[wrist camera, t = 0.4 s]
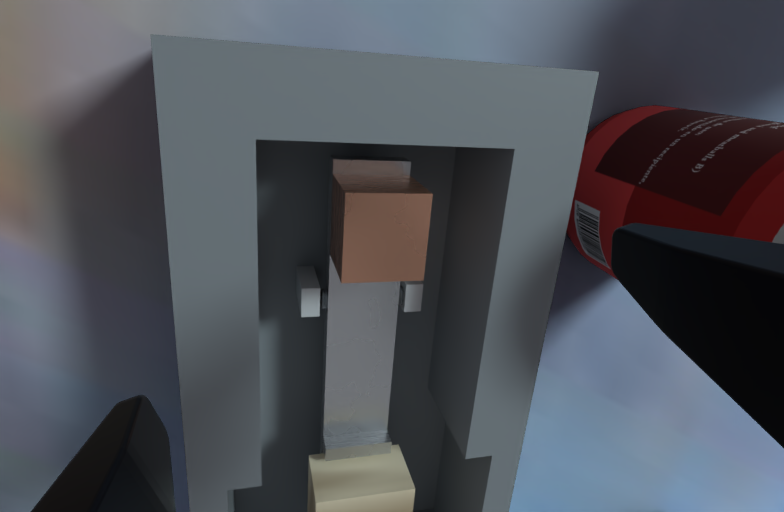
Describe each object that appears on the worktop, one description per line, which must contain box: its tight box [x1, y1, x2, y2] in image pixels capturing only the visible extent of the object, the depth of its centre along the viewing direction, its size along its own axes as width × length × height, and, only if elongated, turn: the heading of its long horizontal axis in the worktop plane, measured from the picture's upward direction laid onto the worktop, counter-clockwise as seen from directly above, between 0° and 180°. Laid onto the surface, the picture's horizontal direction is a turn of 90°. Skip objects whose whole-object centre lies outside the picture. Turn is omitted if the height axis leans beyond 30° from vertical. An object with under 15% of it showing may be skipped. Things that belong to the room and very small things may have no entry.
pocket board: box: [151, 34, 599, 512], centre depth 21 cm, size 24×13×5 cm, turn 176°
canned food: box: [566, 105, 784, 280], centre depth 20 cm, size 8×8×11 cm
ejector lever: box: [320, 155, 433, 461], centre depth 21 cm, size 18×3×3 cm, turn 176°
